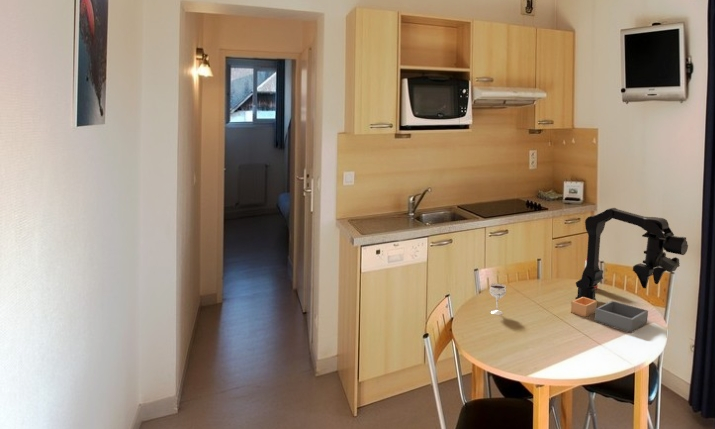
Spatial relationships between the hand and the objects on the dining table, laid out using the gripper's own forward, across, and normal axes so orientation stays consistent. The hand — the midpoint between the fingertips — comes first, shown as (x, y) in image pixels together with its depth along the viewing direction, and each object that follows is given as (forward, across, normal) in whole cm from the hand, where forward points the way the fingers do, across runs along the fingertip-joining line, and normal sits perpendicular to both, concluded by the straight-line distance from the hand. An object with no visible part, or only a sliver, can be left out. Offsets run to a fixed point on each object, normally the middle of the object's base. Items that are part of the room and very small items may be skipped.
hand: (650, 286), depth 185 cm
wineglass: (+15, -47, +38) cm, 62 cm away
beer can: (+15, +14, +34) cm, 39 cm away
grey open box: (+14, -13, +4) cm, 19 cm away
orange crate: (+14, -16, +18) cm, 28 cm away
